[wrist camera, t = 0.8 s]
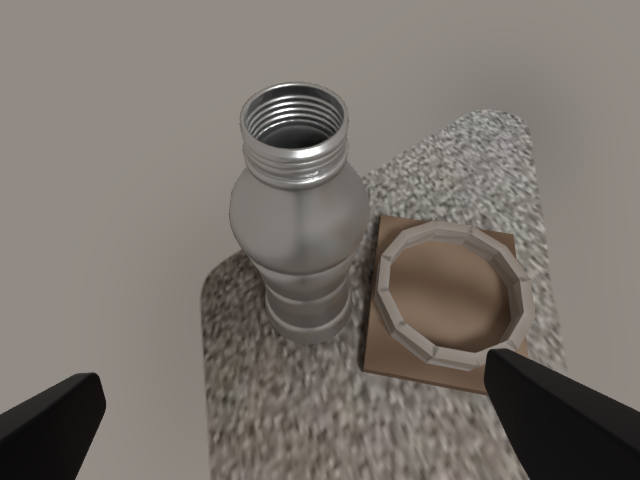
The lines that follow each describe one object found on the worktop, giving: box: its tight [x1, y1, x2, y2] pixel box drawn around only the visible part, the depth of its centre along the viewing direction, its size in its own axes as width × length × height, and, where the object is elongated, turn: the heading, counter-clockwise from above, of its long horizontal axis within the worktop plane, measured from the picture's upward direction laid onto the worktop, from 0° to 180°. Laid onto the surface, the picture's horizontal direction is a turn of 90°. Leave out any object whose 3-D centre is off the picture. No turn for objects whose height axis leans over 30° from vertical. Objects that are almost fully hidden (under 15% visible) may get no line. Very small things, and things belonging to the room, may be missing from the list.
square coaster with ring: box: [362, 215, 536, 396], centre depth 28 cm, size 14×12×3 cm
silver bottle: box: [229, 82, 370, 345], centre depth 20 cm, size 6×7×20 cm
